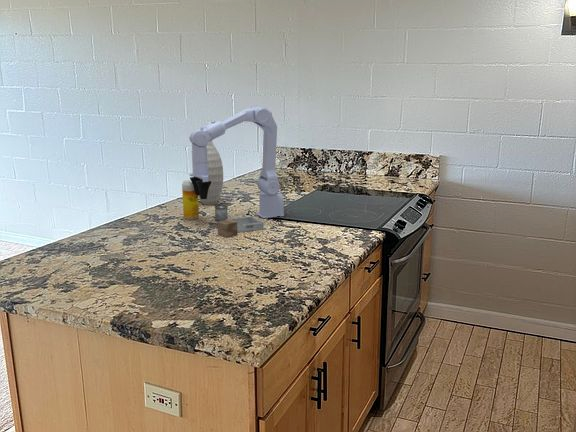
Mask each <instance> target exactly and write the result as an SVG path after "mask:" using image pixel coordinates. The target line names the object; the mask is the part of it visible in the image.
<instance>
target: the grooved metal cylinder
mask: <svg viewBox="0 0 576 432" xmlns="http://www.w3.org/2000/svg"><path fill="white" fill-rule="evenodd" d="M228 208H229V207H228V204H224V203H220V204H219V203H218V204H214V214H215V216H214V218H215V220H214V221H215V222H217V223H218V222H219V221H223V220H226V219H229V218H228Z"/></svg>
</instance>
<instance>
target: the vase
mask: <svg viewBox="0 0 576 432" xmlns="http://www.w3.org/2000/svg"><path fill="white" fill-rule="evenodd" d="M220 155H221V154H220V153H219V151H218V150H217V148H216V146H215V144H214V143H213V140H211V141H209V142H208V144H207V162H208V181H211V185H210V187H209V190H208V195H207V199H201V198H200V195H198V199H199V201H200V202H201V203H202V204H203V205H205V206H206V205H207V206H211V205H212V206H213V205H217V203H218V201H219V200H220V196H221V195H222V191H223V187H224V168H223V167H224V165H223V162H222V158H221V156H220Z"/></svg>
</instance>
